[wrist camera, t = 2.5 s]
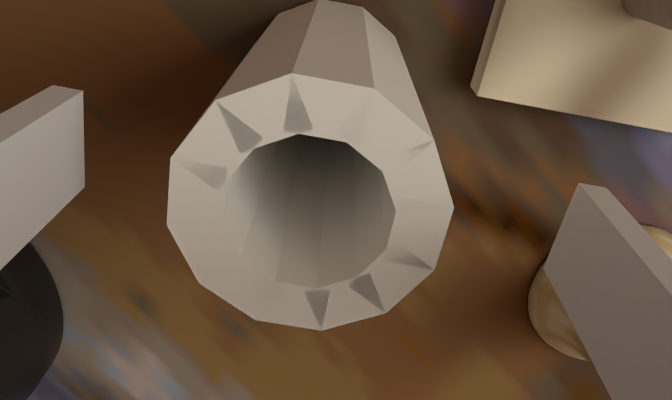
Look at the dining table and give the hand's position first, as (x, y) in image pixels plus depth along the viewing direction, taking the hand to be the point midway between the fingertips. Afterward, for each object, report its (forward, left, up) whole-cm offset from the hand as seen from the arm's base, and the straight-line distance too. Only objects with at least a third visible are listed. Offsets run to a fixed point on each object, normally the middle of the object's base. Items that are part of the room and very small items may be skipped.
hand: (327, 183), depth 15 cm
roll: (0, 0, -10) cm, 10 cm away
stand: (+11, +6, -10) cm, 16 cm away
